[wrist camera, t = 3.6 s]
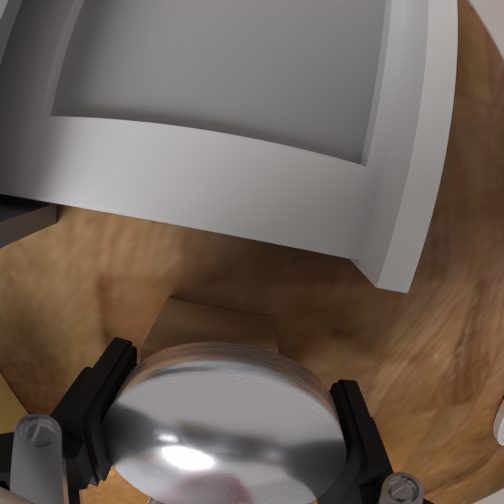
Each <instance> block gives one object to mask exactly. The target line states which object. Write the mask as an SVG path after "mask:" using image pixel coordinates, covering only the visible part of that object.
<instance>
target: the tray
mask: <svg viewBox="0 0 504 504" xmlns="http://www.w3.org/2000/svg"><path fill="white" fill-rule="evenodd" d="M457 44H458V10H457V0H23V1H22V4H21V6H20V9H19V11H18V14H17V16H16V19H15V22H14V24H13V27H12V30H11V33H10V36H9V39H8V42H7V45H6V48H5V51H4V55H3V58H2V61H1V65H0V194H4V195H10V196H16V197H22V198H28V199H34V200H40V201H45V202H51V203H57V204H63V205H69V206H74V207H80V208H86V209H91V210H97V211H102V212H108V213H114V214H119V215H125V216H130V217H136V218H141V219H147V220H152V221H158V222H163V223H168V224H174V225H179V226H184V227H190V228H195V229H200V230H206V231H211V232H216V233H222V234H227V235H232V236H237V237H242V238H248V239H253V240H258V241H263V242H268V243H273V244H278V245H283V246H289V247H294V248H299V249H304V250H309V251H314V252H319V253H324V254H329V255H334V256H339V257H344V258H349V259H350V260H351V261H352V262H353V263H354V264H355V265H356V266H357V268H358V269H359V270H360V271H361V272H362V273H363V274H364V275H365V276H366V277H367V278H368V279H369V280H370V282H371V283H372V284H373V285H374V286H375V287H376V288H380V289H386V290H392V291H398V292H404V293H408V291H409V288H410V286H411V283H412V280H413V277H414V274H415V271H416V268H417V265H418V262H419V259H420V256H421V252H422V249H423V246H424V242H425V239H426V236H427V232H428V229H429V225H430V221H431V218H432V214H433V210H434V206H435V202H436V198H437V193H438V189H439V185H440V180H441V175H442V171H443V166H444V161H445V155H446V150H447V144H448V138H449V131H450V125H451V118H452V110H453V101H454V92H455V80H456V66H457Z"/></svg>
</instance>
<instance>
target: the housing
mask: <svg viewBox="0 0 504 504" xmlns="http://www.w3.org/2000/svg"><path fill="white" fill-rule="evenodd" d="M22 1H23V0H0V65H1V61H2V58H3V55H4V51H5V48H6V45H7V42H8V39H9V36H10V33H11V30H12V27H13V24H14V22H15V19H16V16H17V14H18V11H19V9H20V6H21V4H22ZM57 206H58V204H57V203H51V202H45V201H40V200H34V199H28V198H22V197H16V196H10V195H4V194H0V248H2V247H4V246H6V245H8V244H10V243H12V242H15V241H17V240H19V239H21V238H23V237H26V236H28V235H30V234H32V233H35V232H37V231H39V230H41V229H44V228H46V227H48V226H51V225H53V224H56V223H57Z"/></svg>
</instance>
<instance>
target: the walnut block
mask: <svg viewBox="0 0 504 504" xmlns="http://www.w3.org/2000/svg"><path fill="white" fill-rule="evenodd" d="M209 341H214V342H232V343H240V344H247V345H251V346H255V347H260V348H264V349H267V350H270V351H273V352H276V353H278V346H277V339H276V332H275V326H274V319H273V317H271V316H265V315H259V314H253V313H247V312H242V311H236V310H231V309H225V308H220V307H215V306H209V305H204V304H199V303H194V302H189V301H184V300H179V299H174V298H170V297H168V299H167V300H166V302H165V304H164V306H163V308H162V310H161V312H160V313H159V315H158V317H157V319H156V321H155V323H154V325H153V327H152V329H151V331H150V332H149V334H148V336H147V338H146V340H145V342H144V344H143V346H142V348H141V361H142V360H144V359H146V358H147V357H149V356H150V355H152V354H154V353H157V352H159V351H161V350H163V349H167V348H170V347H173V346H177V345H182V344H188V343H193V342H209Z"/></svg>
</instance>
